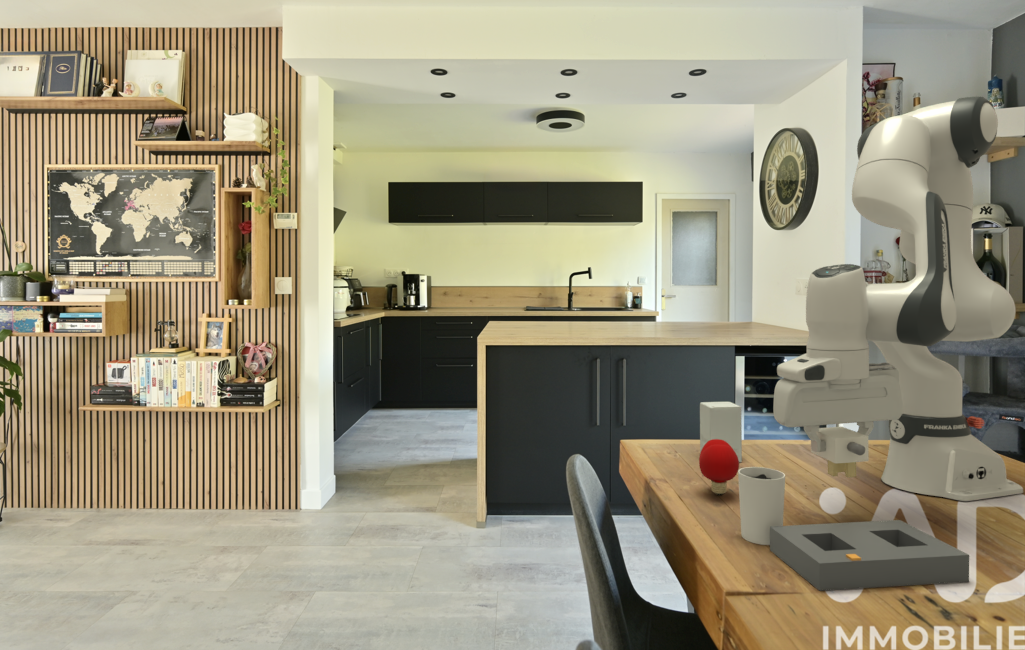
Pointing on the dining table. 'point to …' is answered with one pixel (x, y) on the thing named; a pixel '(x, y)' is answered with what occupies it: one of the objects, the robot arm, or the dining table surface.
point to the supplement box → (721, 424)
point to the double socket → (867, 555)
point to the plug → (843, 449)
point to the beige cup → (760, 502)
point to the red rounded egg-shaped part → (718, 464)
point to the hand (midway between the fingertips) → (838, 449)
